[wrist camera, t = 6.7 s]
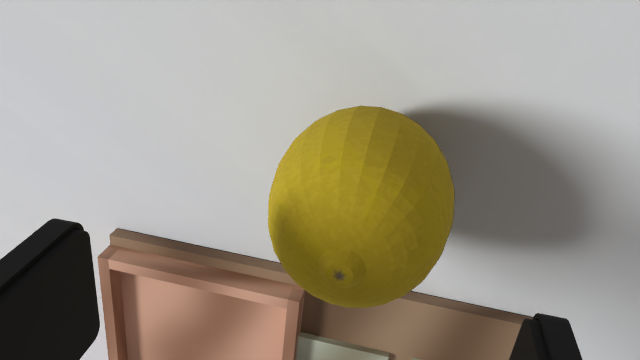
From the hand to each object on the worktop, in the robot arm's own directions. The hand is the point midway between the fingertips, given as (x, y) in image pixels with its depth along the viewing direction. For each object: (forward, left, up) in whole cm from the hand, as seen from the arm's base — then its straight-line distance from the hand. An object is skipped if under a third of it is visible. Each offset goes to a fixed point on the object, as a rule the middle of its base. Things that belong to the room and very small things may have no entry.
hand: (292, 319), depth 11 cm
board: (+1, +11, -10) cm, 15 cm away
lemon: (-1, 0, -10) cm, 10 cm away
